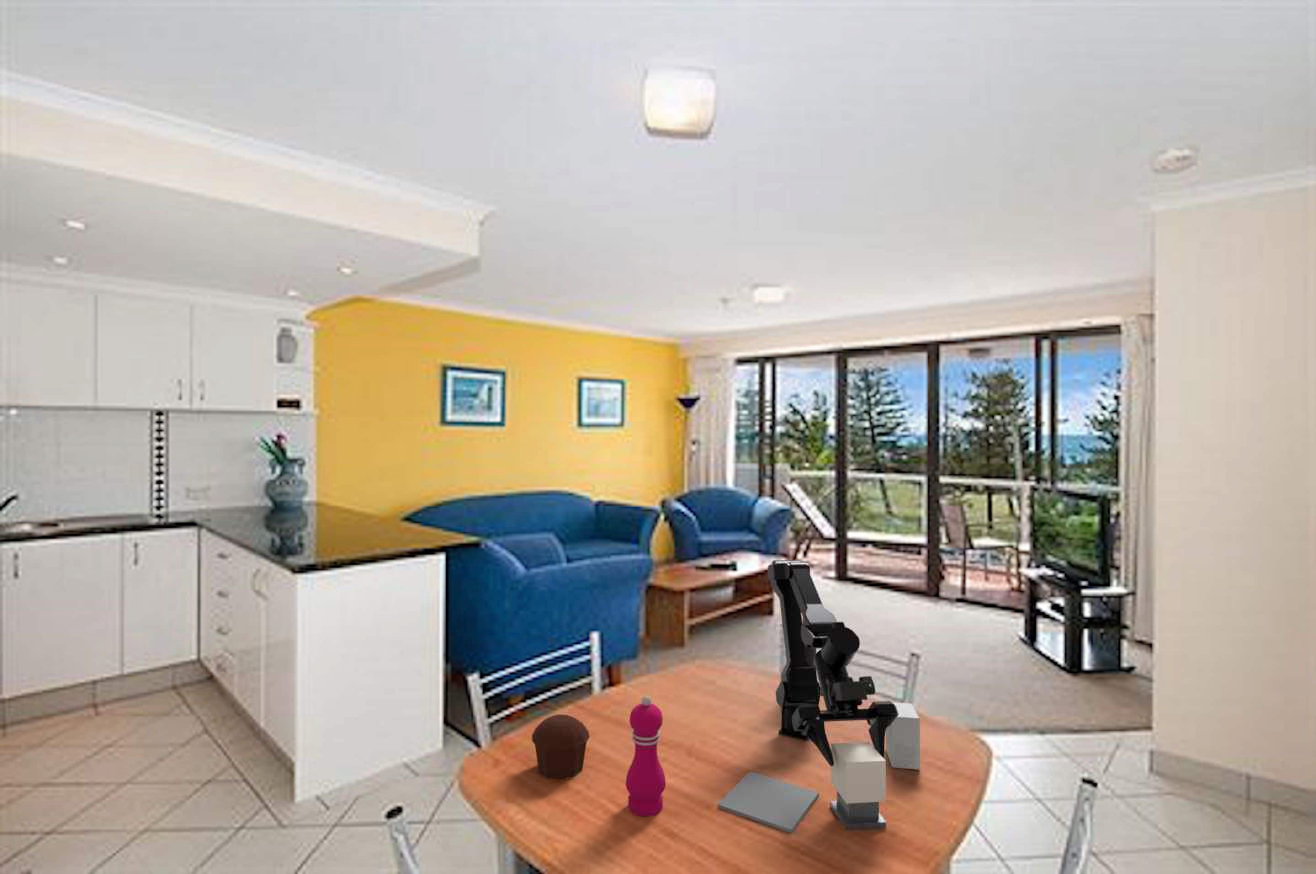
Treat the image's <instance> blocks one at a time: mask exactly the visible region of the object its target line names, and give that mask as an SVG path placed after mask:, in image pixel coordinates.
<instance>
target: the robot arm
mask: <svg viewBox="0 0 1316 874" xmlns="http://www.w3.org/2000/svg"><path fill="white" fill-rule="evenodd" d="M767 576H768V580H769V581H770V586H771V589H772V591H773V592H774V593H775V595H776V596H777V597H778V599H779V606H780V607H779V608H780V615H781V623H782V624H781V625H782V634H783V641H784V652H785V661H786V663H785V665H784V667H783V670H782V672H781V674H780V682H779V684H778V686H777V688H776V691H775V701H776V703H777V705H778V706H779V707H780V709H781V721H780V722H781V726H780V727H781V728H780V729H778V734H779V735H784V736H788V737H790V738H791V737H792V738H794V739H799V740H802V741H807V740H808V739H809V740H810V741H811V742H812V743H813V745H814V746H815V747H816V748H817V749H818V750H819V753H821V755H822V756H823V758H824V759H825V761H826V762H827V763H828V765H829V766H830V767H831V766H833V765H834V761H833V756H832V752H831V745H830V743H829V740H828V735H827V733H826V727H825V723H826V722H827V723H828V722H846V721H848V722H850V721H851V722H853V721H866V722H867V724H868V725H869V726H870V727H869V728H868V733H869V736H870V739H871V741H872V746H873V747H874V749H875V750H876V751H877V752H878V753H879V754H880V755H881V756H882V757H883V758H884V759H885V748H886V728H887V727H888V726H890V725H891V723H892V722H893V721H894V720H895V719H896V717H897V716H898V715H899V714H898V711H897V708H896V706H895V705H894V704H893V703H892V702H893V701H891V700H883V701H882V700H880V701H873V702H871V704H870V705H869V707H868V708H859V706H860V707H861V706H862V704H863V700H864V701H867V700H868V696H872V695H875V694H876V687H875V683H874V680H873V678H872V676H871V675H868V676H867V675H866V676H865V675H864V676H860V677H858V681H856V680H855V681H854V679H853V677H852V676H849V672H848V669H847V666H849V665H850V664H851V662H852V660H853V658H854V657H855V655H856V653H857V652H858V651H859V648H860V646H861V641H860V637H859V636H858V635H857V634H856V632H854V631H853V629H851V628H850V627H846V625H845V623H844V621H838V620H837V618H836V617H835V615H834V614H833V612H831V611H829V610H828V609H826V608H825V606H824V604H823V602H822V600H821V597H820V595H819V592H818V590H817V588H816V586H815V582H814V581H813V578H812V575H811V568H810V564H809V563H808V562H805V561H799V560H798V559H784V560H783V559H778V560H777V559H776V560H772V562H771V564H769V565H768V566H767ZM802 618H803V622H802ZM805 645H806V647H807V648H810V649H816V650H818V649H820V650H818V651H816V655H815V657H814V662H813V667H811V665H810V664H809V663H808V661H807V657H806V649H805ZM814 667H815V668H816V670H815V668H814ZM821 697H822V699H823V701H824V705H825V708H826V709H824V710H823V709H822V710H821V708H820V706H819V705H820V699H821Z"/></svg>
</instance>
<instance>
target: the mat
mask: <svg viewBox="0 0 1316 874" xmlns="http://www.w3.org/2000/svg"><path fill="white" fill-rule="evenodd" d="M819 796H820V793H819V791H815V790H812V789H809V788H806V787H802V786H799V785H796V784H793V783H790V782H786V781H785V780H780V779H776V778H773V777H770V776H767V775H763V774H761V773H757V772H754V771H749V772H748V773H747V774H746V775H745V776H744V777H743V778H742V779H741V780H740V781H739V782H738V783H737V784H736V785H735V786H734V787H733V788H732V789H731V790H730V791H729V792H728V793H727V794H726V795H725V796H724V797H723V798H722V799H721V800H720V801H719V802H718V803H717V808H718V809H722V810H724V811H727V812H729V813H731V814H732V813H733V814H735V815H737V816H740V817H744V818H747V819H748V820H749V819H750V820H751V821H754V822H758V823H760V824H763V825H766V826H769V827H772V828H775V829H778V830H781V831H783V832H786V833H789V834H792V833H793V831H795V830H796V829H797V826H798V825H799V824H800V822H801V821H802V820H803V818H804V817H805V815H806V814H807V812H808V811H809V810H810V808H812V806H813V804H814V802H816V800H817V799H818V798H819Z"/></svg>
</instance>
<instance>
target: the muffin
mask: <svg viewBox="0 0 1316 874" xmlns="http://www.w3.org/2000/svg"><path fill="white" fill-rule="evenodd" d="M590 737H591V736H590V732H589V730H588V729H587V727H586V725H585V724H584V722H582V721H580V719H578V718H576V717H573V716H572V715H569V714H555V715H551V716H549V717H547V718H544V719H543V720H542V721H541V722H540V723H539V724H538V725H537V726H536V727H535V729H534V731H533V732H532V734H531V740H532V743H533V744H534V748H535V755H536V761H537V767H538V774H540V775H542V776H544V777H545V778H546V779H552V780H559V781H561V780H565V779H570V778H574V777H576V776H577V775H578V774H579V773H581V772H582V771H583V767H584V760H585V754H586V748H587V742H588V740H589V738H590Z"/></svg>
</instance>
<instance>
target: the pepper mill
mask: <svg viewBox="0 0 1316 874" xmlns="http://www.w3.org/2000/svg"><path fill="white" fill-rule="evenodd" d="M663 722H664V718H663V713H662V711H661V709H660V708H659V707H658V706H657V705H655V704H653V703H652V698H651V697H650V696H649V695H643V696H642V698H641V703H638V704H637V705H635V706H634V707H633V709H632V710H631V712H630V715H629V724H630V727H631V728H632V732H631V734H632V737H631V740H632V742H633V743H634V755H633V758H632V762H631V764H630V766H629V767H628V770H627V774H626V778H625V788H626V791H628V796H627V801H628V802H627V807H628V810H629V812H631V813H632V814H634V815H635V816H640V817H650V816H655V815H658V814H659V813H660V812H661V811H662V809H663V807H664V796H663V793H664V791H665V789H666V784H667V783H666V776H665V772H664V769H663V766H662V765H661V763H660V759H659V756H658V743H659V742H660V739H661V737H660V736H661V735H660V734H661V732H660V729H661V727H662V725H663Z"/></svg>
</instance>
